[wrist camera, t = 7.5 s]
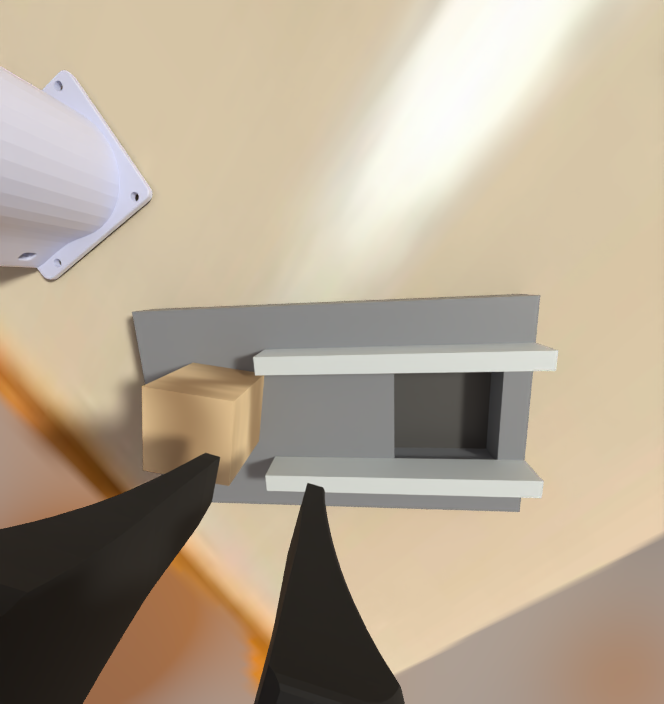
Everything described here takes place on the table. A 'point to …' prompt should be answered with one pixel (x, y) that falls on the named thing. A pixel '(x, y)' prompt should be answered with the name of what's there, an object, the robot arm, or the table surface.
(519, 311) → the rail jig base
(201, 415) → the block
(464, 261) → the table surface
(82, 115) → the robot arm
